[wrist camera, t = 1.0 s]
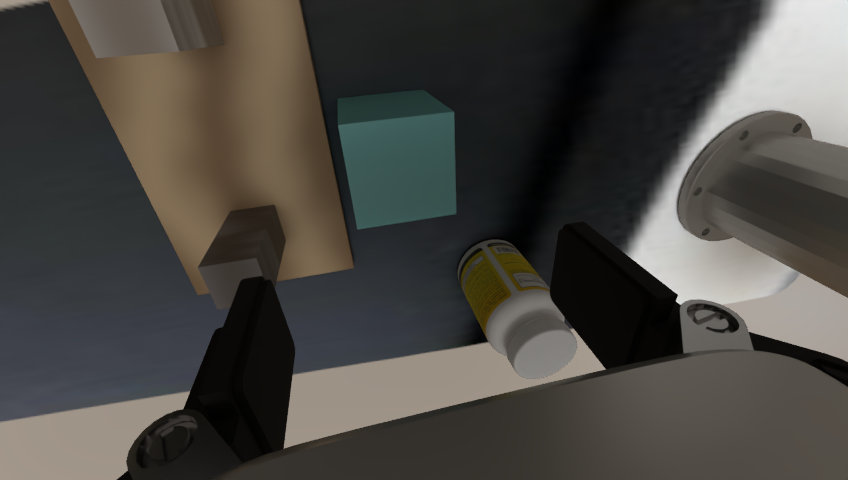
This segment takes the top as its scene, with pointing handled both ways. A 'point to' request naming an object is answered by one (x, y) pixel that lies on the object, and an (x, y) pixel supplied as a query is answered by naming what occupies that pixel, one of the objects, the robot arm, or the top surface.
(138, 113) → the post board
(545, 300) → the pill bottle
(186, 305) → the top surface
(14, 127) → the top surface
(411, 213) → the teal rectangular block
